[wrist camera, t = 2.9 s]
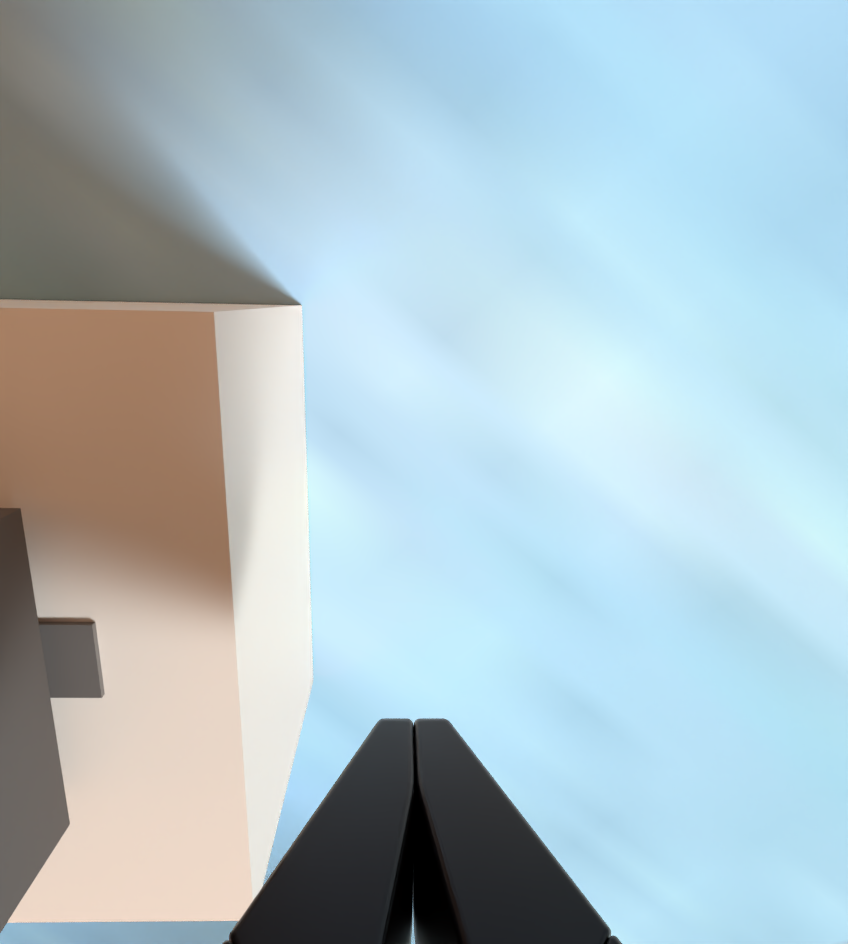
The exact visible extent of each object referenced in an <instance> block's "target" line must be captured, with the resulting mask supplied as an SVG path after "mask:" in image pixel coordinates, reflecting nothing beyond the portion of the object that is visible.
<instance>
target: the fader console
mask: <svg viewBox="0 0 848 944" xmlns="http://www.w3.org/2000/svg"><path fill="white" fill-rule="evenodd" d="M0 508H21V514H22V521H23V527H24V533H25V540H26V546H27V553H28V559H29V565H30V572H31V578H32V584H33V591H34V597H35V604H36V610H37V616H38V623H39V629H40V636H41V642H42V648H43V655H44V661H45V667H46V674H47V680H48V687H49V693H50V699H51V706H52V712H53V719H54V725H55V731H56V738H57V744H58V750H59V757H60V763H61V770H62V776H63V782H64V789H65V795H66V802H67V808H68V814H69V821H70V825H69V827H68V828H67V830H66V831H65V833H64V834H63V836H62V837H61V839H60V841H59V842H58V844H57V845H56V847H55V848H54V850H53V851H52V853H51V855H50V856H49V858H48V859H47V861H46V862H45V864H44V866H43V867H42V869H41V870H40V872H39V873H38V875H37V876H36V878H35V880H34V881H33V883H32V884H31V886H30V887H29V889H28V890H27V892H26V894H25V895H24V897H23V898H22V900H21V901H20V903H19V904H18V906H17V908H16V909H15V911H14V912H13V914H12V915H11V917H10V918H9V920H8V922H7V923H15V922H144V921H239V920H240V918H241V917H242V916H243V914H244V913H245V911H246V910H247V908H248V907H249V906H250V904H251V903H252V901H253V900H254V898H255V897H256V896H257V894H258V893H259V891H260V890H261V888H262V886H263V882H264V878H265V874H266V870H267V866H268V862H269V858H270V854H271V850H272V846H273V842H274V838H275V834H276V830H277V826H278V822H279V818H280V813H281V809H282V805H283V801H284V797H285V793H286V789H287V785H288V781H289V777H290V773H291V769H292V765H293V761H294V757H295V753H296V749H297V745H298V741H299V737H300V732H301V728H302V724H303V720H304V716H305V712H306V708H307V704H308V700H309V696H310V692H311V688H312V684H313V650H312V617H311V584H310V551H309V518H308V485H307V452H306V419H305V386H304V352H303V319H302V305H262V304H212V303H162V302H111V301H61V300H11V299H0Z"/></svg>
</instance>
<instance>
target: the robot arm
mask: <svg viewBox="0 0 848 944" xmlns="http://www.w3.org/2000/svg"><path fill="white" fill-rule="evenodd" d="M412 908H413V917H414V934H415V944H622V943H621V942H620V941H619V939H618V938H617V937H616V936H611V930H610V928H609V927H608V926H607V924H606V923H605V922H604V920H603V919H602V918H601V917H600V915H599V914H598V913H597V911H596V910H595V909H594V908H593V906H592V905H591V904H590V902H589V901H588V900H587V898H586V897H585V896H584V895H583V893H582V892H581V891H580V889H579V888H578V887H577V886H576V884H575V883H574V882H573V880H572V879H571V878H570V877H569V875H568V874H567V873H566V871H565V870H564V869H563V867H562V866H561V865H560V864H559V862H558V861H557V860H556V858H555V857H554V856H553V855H552V853H551V852H550V851H549V849H548V848H547V847H546V846H545V844H544V843H543V842H542V840H541V839H540V838H539V837H538V835H537V834H536V833H535V831H534V830H533V829H532V827H531V826H530V825H529V824H528V822H527V821H526V820H525V818H524V817H523V816H522V815H521V813H520V812H519V811H518V809H517V808H516V807H515V806H514V804H513V803H512V802H511V800H510V799H509V798H508V797H507V795H506V794H505V793H504V791H503V790H502V789H501V787H500V786H499V785H498V784H497V782H496V781H495V780H494V778H493V777H492V776H491V775H490V773H489V772H488V771H487V769H486V768H485V767H484V766H483V764H482V763H481V762H480V760H479V759H478V758H477V757H476V755H475V754H474V753H473V751H472V750H471V749H470V747H469V746H468V745H467V744H466V742H465V741H464V740H463V738H462V737H461V736H460V735H459V733H458V732H457V731H456V729H455V728H454V727H453V726H452V724H451V723H450V722H449V721H448V720H446V719H417V720H416V721H415V722H414V727H413V722H412V721H411V720H410V719H381V720H379V721H378V722H377V724H376V725H375V726H374V728H373V729H372V731H371V732H370V733H369V735H368V736H367V738H366V739H365V741H364V742H363V744H362V745H361V746H360V748H359V749H358V751H357V752H356V754H355V755H354V756H353V758H352V759H351V761H350V762H349V764H348V765H347V766H346V768H345V769H344V771H343V772H342V774H341V775H340V777H339V778H338V779H337V781H336V782H335V784H334V785H333V787H332V788H331V789H330V791H329V792H328V794H327V795H326V797H325V798H324V799H323V801H322V802H321V804H320V805H319V807H318V808H317V809H316V811H315V812H314V814H313V815H312V817H311V818H310V820H309V821H308V822H307V824H306V825H305V827H304V828H303V830H302V831H301V832H300V834H299V835H298V837H297V838H296V840H295V841H294V842H293V844H292V845H291V847H290V848H289V850H288V851H287V853H286V854H285V855H284V857H283V858H282V860H281V861H280V863H279V864H278V865H277V867H276V868H275V870H274V871H273V873H272V874H271V875H270V877H269V878H268V880H267V881H266V883H265V884H264V885H263V887H262V888H261V890H260V891H259V893H258V894H257V896H256V897H255V898H254V900H253V901H252V903H251V904H250V906H249V907H248V908H247V910H246V911H245V913H244V914H243V916H242V917H241V918H240V920H239V921H238V923H237V924H236V926H235V927H234V928H233V930H232V931H231V933H230V935H229V941H225V942H223V944H411V934H412Z"/></svg>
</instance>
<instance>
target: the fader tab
mask: <svg viewBox="0 0 848 944" xmlns="http://www.w3.org/2000/svg"><path fill="white" fill-rule="evenodd" d="M69 825H70V821H69V814H68V808H67V802H66V795H65V789H64V782H63V776H62V770H61V763H60V757H59V750H58V744H57V738H56V731H55V725H54V719H53V712H52V706H51V699H50V693H49V687H48V680H47V674H46V667H45V661H44V655H43V648H42V642H41V636H40V629H39V623H38V616H37V610H36V604H35V597H34V591H33V584H32V578H31V572H30V565H29V559H28V553H27V546H26V540H25V533H24V527H23V521H22V514H21V508H0V933H1V931H2V929H3V928H4V926H5V925H6V923H7V922H8V920H9V918H10V917H11V915H12V914H13V912H14V911H15V909H16V908H17V906H18V904H19V903H20V901H21V900H22V898H23V897H24V895H25V894H26V892H27V890H28V889H29V887H30V886H31V884H32V883H33V881H34V880H35V878H36V876H37V875H38V873H39V872H40V870H41V869H42V867H43V866H44V864H45V862H46V861H47V859H48V858H49V856H50V855H51V853H52V851H53V850H54V848H55V847H56V845H57V844H58V842H59V841H60V839H61V837H62V836H63V834H64V833H65V831H66V830H67V828H68V827H69Z"/></svg>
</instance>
